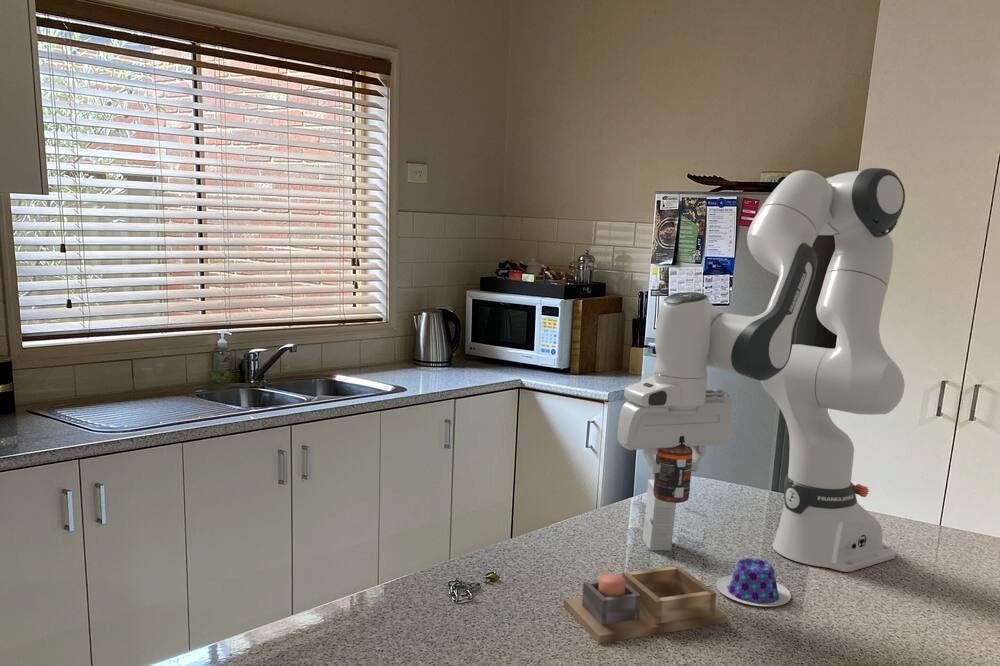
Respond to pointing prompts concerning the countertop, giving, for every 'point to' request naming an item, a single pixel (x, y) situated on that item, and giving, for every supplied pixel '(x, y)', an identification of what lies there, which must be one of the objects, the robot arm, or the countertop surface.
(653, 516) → the skincare box
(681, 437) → the supplement bottle
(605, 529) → the countertop surface
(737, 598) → the pudding
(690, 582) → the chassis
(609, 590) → the button
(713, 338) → the robot arm
